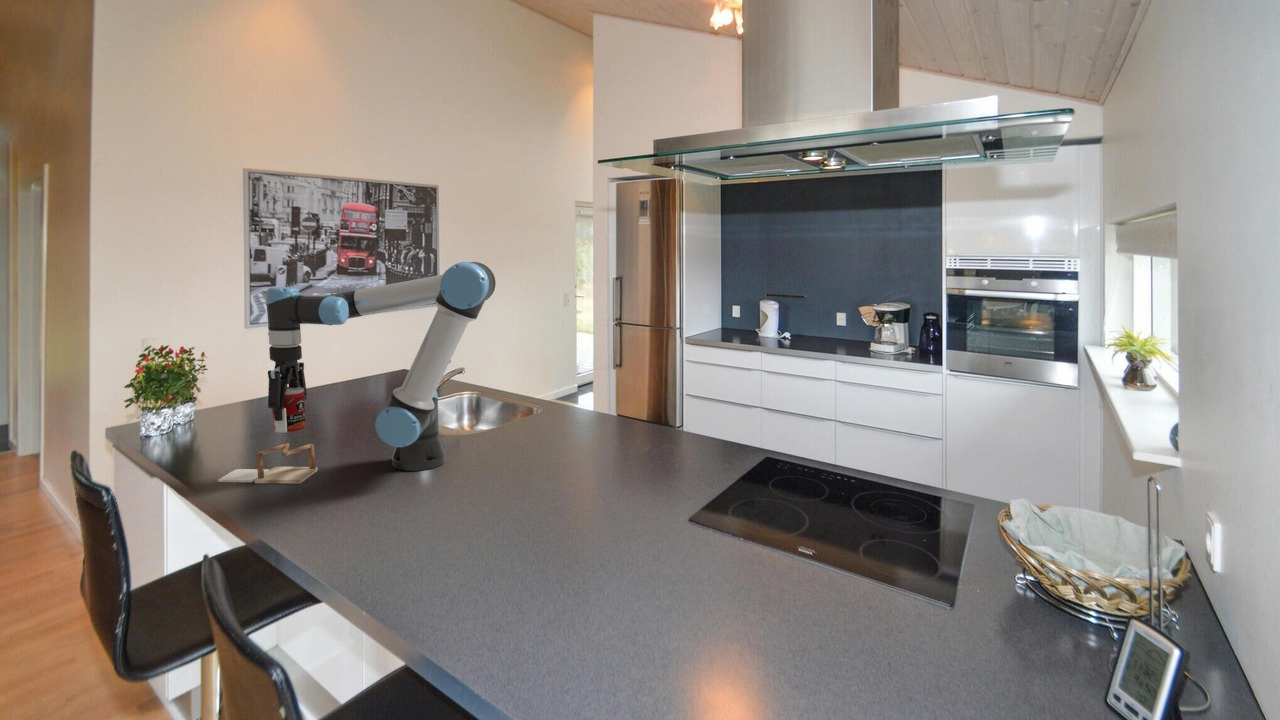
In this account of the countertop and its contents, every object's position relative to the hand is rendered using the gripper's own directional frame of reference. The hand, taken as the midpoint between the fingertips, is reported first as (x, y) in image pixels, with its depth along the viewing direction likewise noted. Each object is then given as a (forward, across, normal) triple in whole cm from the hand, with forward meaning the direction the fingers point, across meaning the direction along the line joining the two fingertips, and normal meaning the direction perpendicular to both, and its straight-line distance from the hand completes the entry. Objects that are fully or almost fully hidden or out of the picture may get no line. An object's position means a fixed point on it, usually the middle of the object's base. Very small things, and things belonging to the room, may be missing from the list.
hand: (289, 427), depth 170 cm
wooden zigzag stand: (+15, -1, -2) cm, 15 cm away
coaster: (+15, 0, -14) cm, 20 cm away
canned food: (0, 0, 0) cm, 0 cm away
